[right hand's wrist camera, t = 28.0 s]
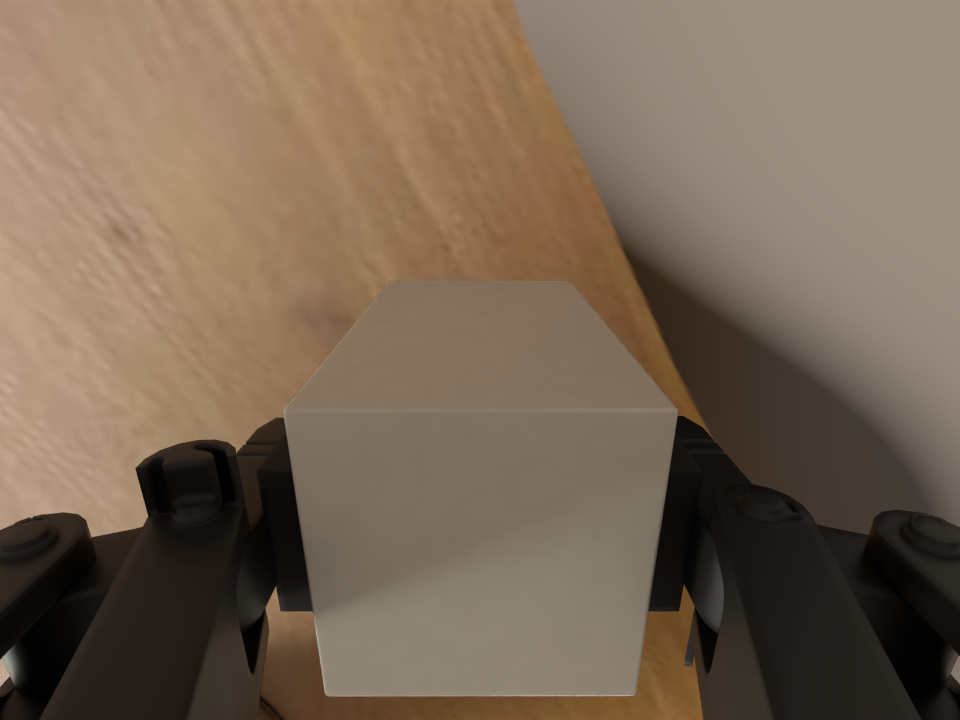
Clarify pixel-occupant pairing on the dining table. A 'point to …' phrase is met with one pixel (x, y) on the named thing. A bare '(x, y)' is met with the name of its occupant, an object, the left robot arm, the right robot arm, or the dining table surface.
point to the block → (480, 495)
